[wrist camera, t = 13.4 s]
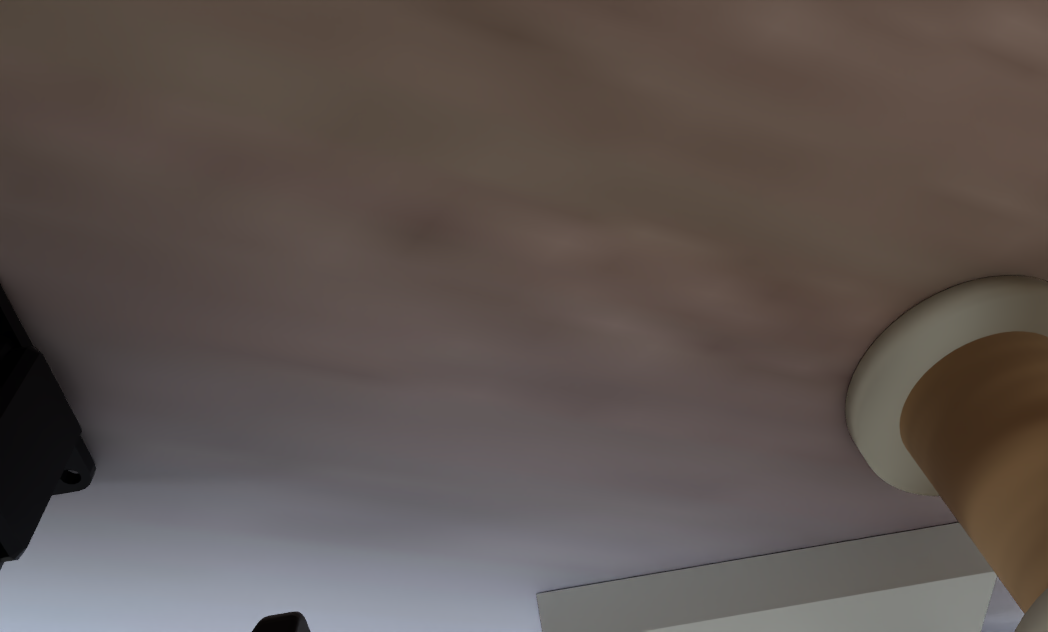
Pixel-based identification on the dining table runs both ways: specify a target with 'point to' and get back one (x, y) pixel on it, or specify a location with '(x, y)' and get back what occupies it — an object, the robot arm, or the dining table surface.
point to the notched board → (797, 591)
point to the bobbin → (968, 421)
